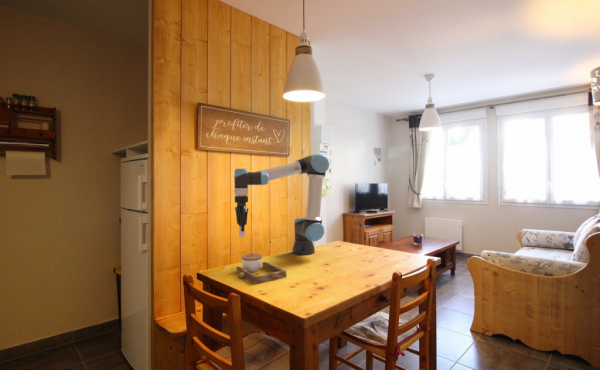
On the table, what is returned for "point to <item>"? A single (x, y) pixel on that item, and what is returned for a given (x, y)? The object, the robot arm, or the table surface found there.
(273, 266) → the rail
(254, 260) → the lidded jar
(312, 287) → the table surface
